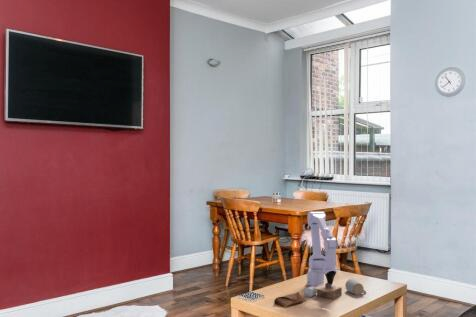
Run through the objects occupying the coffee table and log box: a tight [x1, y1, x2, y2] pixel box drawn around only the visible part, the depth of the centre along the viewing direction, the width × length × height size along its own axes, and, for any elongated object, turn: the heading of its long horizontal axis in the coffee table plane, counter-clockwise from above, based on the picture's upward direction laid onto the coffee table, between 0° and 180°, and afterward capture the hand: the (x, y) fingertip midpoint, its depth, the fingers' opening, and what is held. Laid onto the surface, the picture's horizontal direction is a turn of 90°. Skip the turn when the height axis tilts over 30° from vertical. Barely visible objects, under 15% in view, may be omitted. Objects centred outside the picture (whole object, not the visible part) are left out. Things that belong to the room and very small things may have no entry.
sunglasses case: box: [273, 291, 307, 309], centre depth 227 cm, size 18×7×7 cm, turn 130°
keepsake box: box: [316, 284, 343, 300], centre depth 239 cm, size 10×10×4 cm
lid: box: [313, 282, 340, 293], centre depth 236 cm, size 10×10×2 cm
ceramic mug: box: [345, 278, 367, 296], centre depth 244 cm, size 11×8×8 cm
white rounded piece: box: [302, 285, 317, 298], centre depth 237 cm, size 6×5×5 cm
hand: (330, 284), depth 239 cm, fingers closed
